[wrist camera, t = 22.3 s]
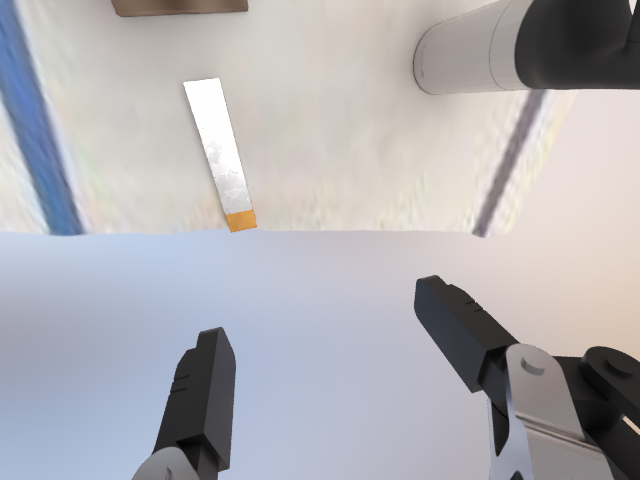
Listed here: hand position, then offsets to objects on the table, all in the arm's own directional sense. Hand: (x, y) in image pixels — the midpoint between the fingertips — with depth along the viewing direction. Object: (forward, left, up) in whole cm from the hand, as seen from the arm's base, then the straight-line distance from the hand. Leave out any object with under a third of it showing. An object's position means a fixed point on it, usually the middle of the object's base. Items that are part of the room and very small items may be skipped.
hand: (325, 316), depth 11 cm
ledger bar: (+5, -1, -35) cm, 35 cm away
